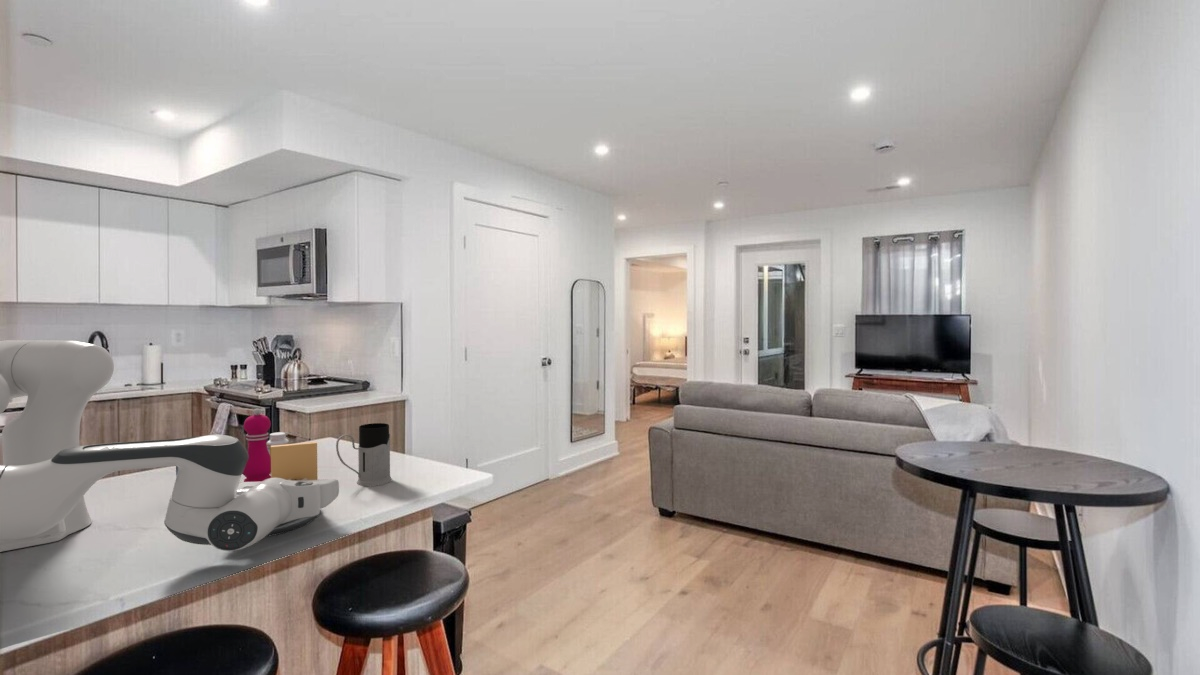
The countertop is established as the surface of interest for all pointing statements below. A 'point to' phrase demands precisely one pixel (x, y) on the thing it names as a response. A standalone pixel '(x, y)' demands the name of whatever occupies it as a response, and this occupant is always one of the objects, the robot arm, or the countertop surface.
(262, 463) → the pepper mill
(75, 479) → the robot arm
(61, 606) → the countertop surface
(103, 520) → the countertop surface
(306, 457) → the tan slab with dome
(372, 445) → the glass holder
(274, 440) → the supplement bottle
